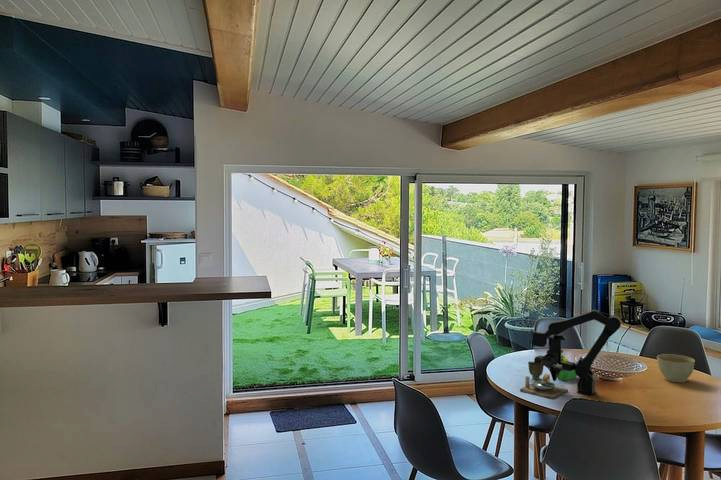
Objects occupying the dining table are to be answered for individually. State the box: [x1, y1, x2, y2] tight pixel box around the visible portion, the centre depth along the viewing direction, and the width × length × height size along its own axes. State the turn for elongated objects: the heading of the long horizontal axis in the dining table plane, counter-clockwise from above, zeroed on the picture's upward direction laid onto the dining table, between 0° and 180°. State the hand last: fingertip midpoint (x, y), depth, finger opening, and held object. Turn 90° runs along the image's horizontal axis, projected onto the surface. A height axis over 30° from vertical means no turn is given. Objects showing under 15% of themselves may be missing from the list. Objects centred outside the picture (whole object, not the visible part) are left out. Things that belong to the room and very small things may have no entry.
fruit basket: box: [557, 354, 578, 381], centre depth 268 cm, size 11×9×11 cm
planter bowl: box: [656, 353, 696, 383], centre depth 263 cm, size 16×16×11 cm
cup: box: [527, 360, 545, 380], centre depth 267 cm, size 8×7×8 cm
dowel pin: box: [524, 375, 530, 387], centre depth 251 cm, size 2×2×5 cm
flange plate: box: [531, 373, 556, 390], centre depth 249 cm, size 14×10×3 cm
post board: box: [519, 380, 569, 400], centre depth 248 cm, size 16×15×5 cm
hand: (554, 380), depth 251 cm, fingers closed
